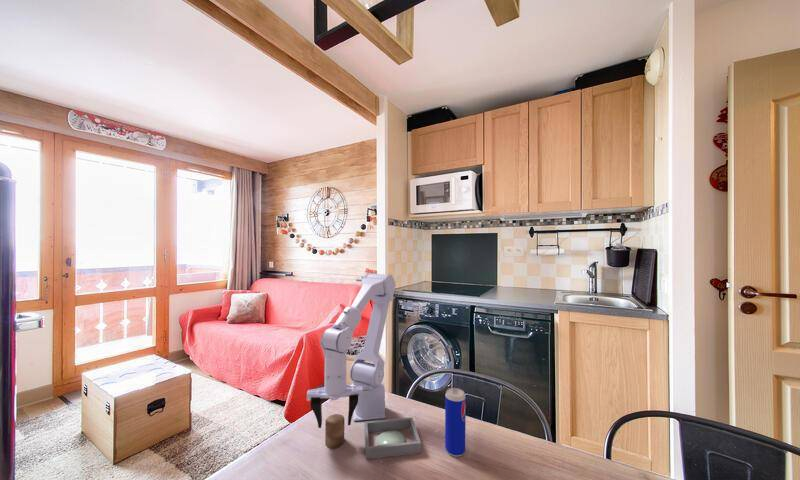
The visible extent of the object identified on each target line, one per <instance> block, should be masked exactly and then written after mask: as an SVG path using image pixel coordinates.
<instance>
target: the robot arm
mask: <svg viewBox="0 0 800 480" xmlns="http://www.w3.org/2000/svg"><path fill="white" fill-rule="evenodd" d="M396 286H397V285H396V281H395V277H394V276H393V275H392V274H386V273H385V274H384V273H371V272H368V273H365V275H364V276H363V278H362V279H361V287H360V290H359V291H358V293H357V295H356V296H355V298H354V301H353V302H352V304H351V306H345V308H344V309H343V311H342V312H341V314H340V315H339V317H337V319H336V321H335V322H334V323H333V325H332V326H331V327H329V328H327V329H325V330H324V331H323V333H322V335H321V339H320V340H319V345H320V347H321V349H322V355H323V356H324V384H323V385H324V386H323V387H318V388H314V389H308V390H307V393H306V401H307V402H310V409H311V410H312V412H313V414H314V416H315V418H316V420H317V421H316V422H317V427H318V429H321V428H322V424H323V413H322V412H323V411H322V408H323V407H322V406H323V405H322V404H323V399H329V400H330V401H337V400H339V399H340V398H347V397H348V415H347V426H351V425H352V424H351V423H352V418H353V421H354V422H357V421H358V422H359V421H372V420H383V419H385V418H386V412H385V411H386V410H385V409H386V391H385V390H386V387H385V383H384V382H383V381H384V376H385V363H386V362H385V360H384V359H383V358H382V356H381V355H380V354H379V353H380V348H381V342H382V338H383V335H384V334H383V333H384V330H385V325H386V322H387V321H386V319H387V317H388V312H389V308H390V307H389V306H390V302H391V301H393V299H394V293H395V290H396ZM371 300H372V302H373V307H372V311H371V314H370V319H369V323H368V326H367V332H366V335H365V339H364V340H365V341H364V345H363V349H362V350H361V351H360V352H359V353H357V354H356V355H354V360H353V361H352V363H351V366H350V368H349V379H350V380H351V381H352V382H353V385H349V384H348V385H347V350H349V349H350V347H351V344H352V339H353V335H354V331H355V330H356V328H357V326H358V325H359V323H360V322H361V320H362V311H363V310H364V308H366V306H367V305H368V304H369V302H370V301H371Z"/></svg>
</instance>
